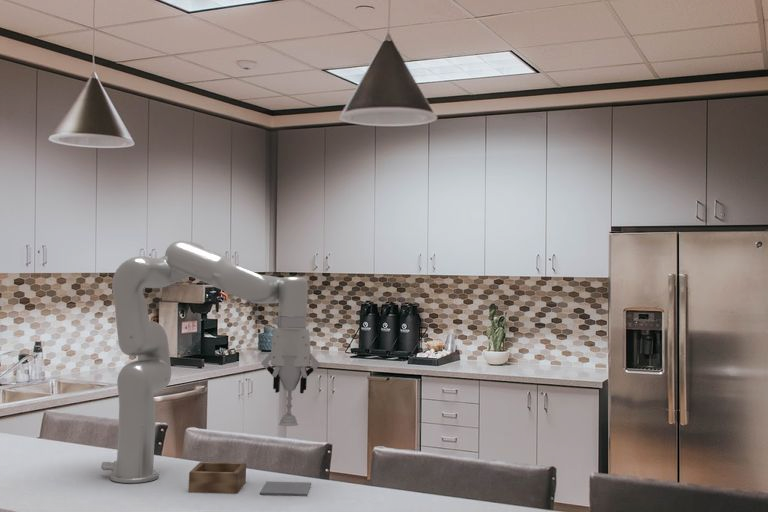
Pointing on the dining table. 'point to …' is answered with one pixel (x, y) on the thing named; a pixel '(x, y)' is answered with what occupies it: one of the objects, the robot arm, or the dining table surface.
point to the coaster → (285, 488)
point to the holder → (217, 477)
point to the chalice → (289, 387)
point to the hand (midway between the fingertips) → (289, 391)
